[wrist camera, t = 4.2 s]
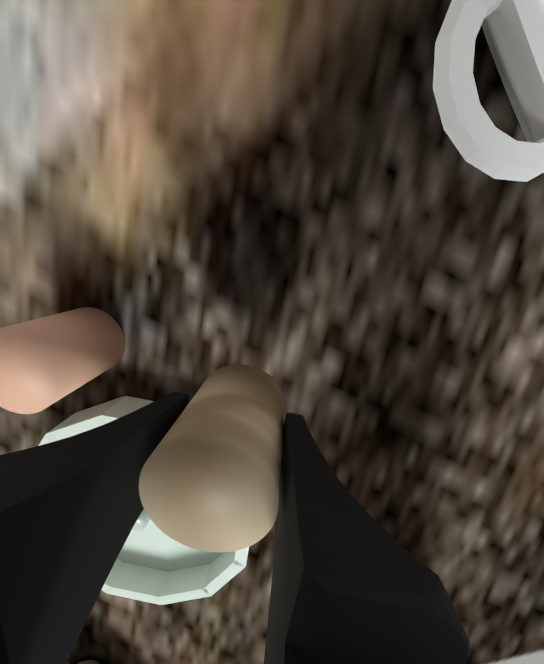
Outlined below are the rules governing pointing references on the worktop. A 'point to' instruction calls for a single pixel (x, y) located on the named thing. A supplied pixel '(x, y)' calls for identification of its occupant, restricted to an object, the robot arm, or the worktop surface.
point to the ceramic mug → (89, 662)
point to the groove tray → (153, 537)
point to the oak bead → (220, 464)
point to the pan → (516, 74)
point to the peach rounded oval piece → (55, 357)
